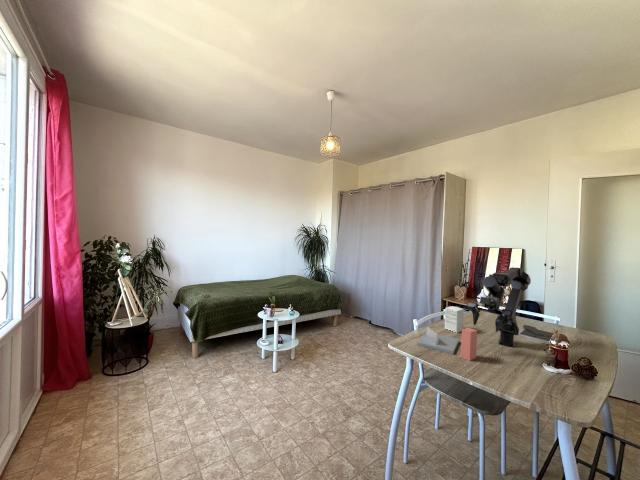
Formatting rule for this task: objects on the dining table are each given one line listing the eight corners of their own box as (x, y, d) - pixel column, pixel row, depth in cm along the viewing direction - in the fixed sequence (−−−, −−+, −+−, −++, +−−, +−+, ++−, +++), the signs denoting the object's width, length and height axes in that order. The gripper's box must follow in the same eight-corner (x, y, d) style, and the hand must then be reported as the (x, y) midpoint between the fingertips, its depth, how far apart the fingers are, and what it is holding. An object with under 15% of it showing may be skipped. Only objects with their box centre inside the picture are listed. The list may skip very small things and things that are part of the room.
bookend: (426, 336, 139) (426, 327, 139) (428, 336, 139) (429, 327, 139) (435, 344, 129) (436, 334, 129) (438, 344, 129) (438, 334, 129)
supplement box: (451, 326, 159) (452, 305, 159) (463, 330, 153) (464, 308, 153) (444, 328, 155) (444, 307, 155) (456, 333, 149) (457, 310, 149)
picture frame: (524, 329, 160) (514, 337, 147) (524, 324, 160) (515, 332, 147) (559, 337, 148) (552, 347, 135) (559, 332, 148) (552, 341, 135)
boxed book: (467, 354, 122) (468, 327, 122) (476, 358, 119) (477, 330, 119) (460, 356, 120) (461, 329, 120) (469, 360, 116) (470, 332, 116)
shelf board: (426, 334, 146) (426, 331, 146) (458, 341, 137) (459, 339, 137) (417, 345, 131) (417, 342, 131) (453, 354, 122) (453, 351, 122)
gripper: (467, 285, 129) (457, 314, 125) (512, 293, 114) (502, 327, 109) (476, 296, 135) (466, 324, 130) (520, 305, 120) (510, 337, 115)
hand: (484, 328), depth 121 cm, fingers open, 9 cm apart
